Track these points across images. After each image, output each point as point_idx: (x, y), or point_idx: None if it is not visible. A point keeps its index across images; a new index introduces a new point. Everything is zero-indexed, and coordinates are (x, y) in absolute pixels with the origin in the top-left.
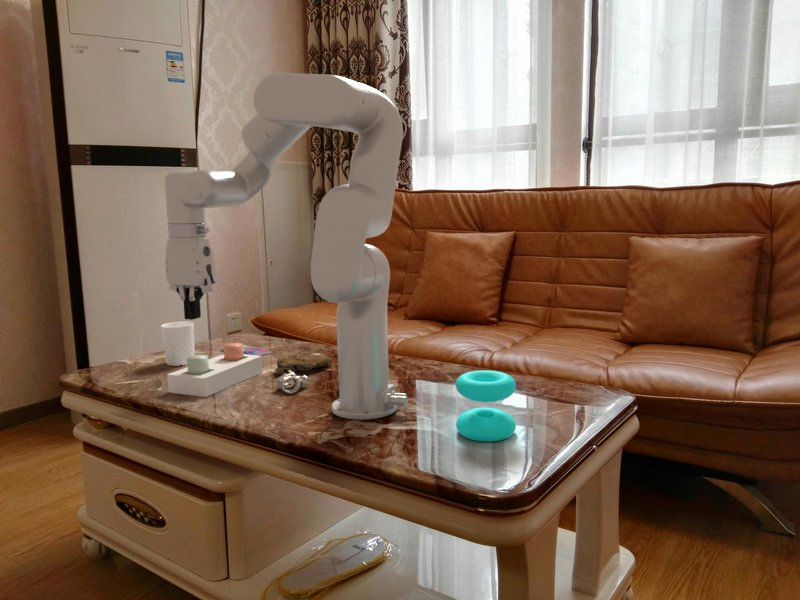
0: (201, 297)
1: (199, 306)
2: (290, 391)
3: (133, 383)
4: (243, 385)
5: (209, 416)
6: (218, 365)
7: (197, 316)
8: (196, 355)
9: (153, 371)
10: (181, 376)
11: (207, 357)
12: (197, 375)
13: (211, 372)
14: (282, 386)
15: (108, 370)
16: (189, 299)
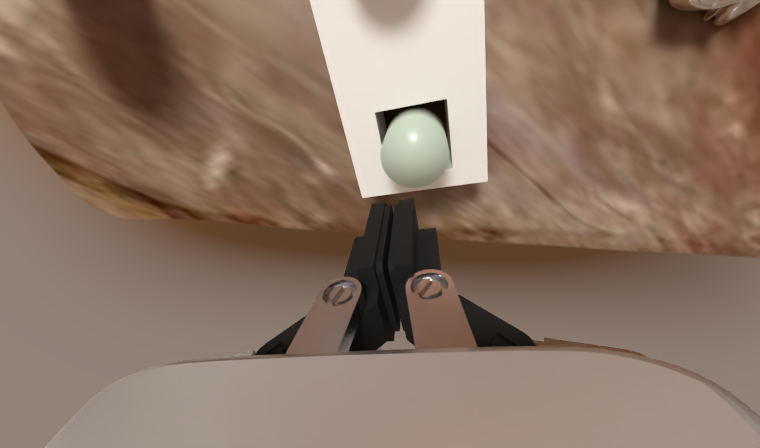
0: (452, 288)
1: (438, 256)
2: (741, 10)
3: (236, 170)
4: (508, 26)
5: (575, 237)
6: (415, 53)
7: (416, 223)
8: (392, 143)
9: (151, 73)
10: (409, 191)
11: (445, 139)
12: (445, 170)
13: (460, 129)
14: (717, 20)
15: (72, 131)
16: (385, 318)
